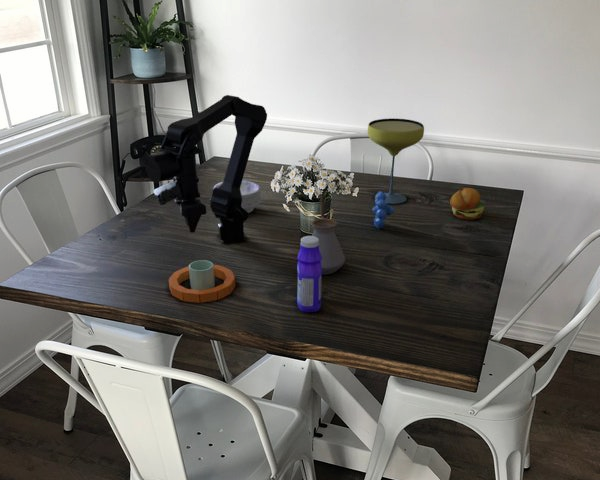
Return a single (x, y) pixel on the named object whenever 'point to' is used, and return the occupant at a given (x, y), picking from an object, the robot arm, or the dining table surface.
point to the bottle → (309, 275)
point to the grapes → (381, 210)
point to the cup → (201, 275)
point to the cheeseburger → (467, 204)
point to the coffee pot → (328, 242)
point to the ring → (205, 294)
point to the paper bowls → (248, 195)
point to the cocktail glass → (395, 143)
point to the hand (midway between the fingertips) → (190, 228)
